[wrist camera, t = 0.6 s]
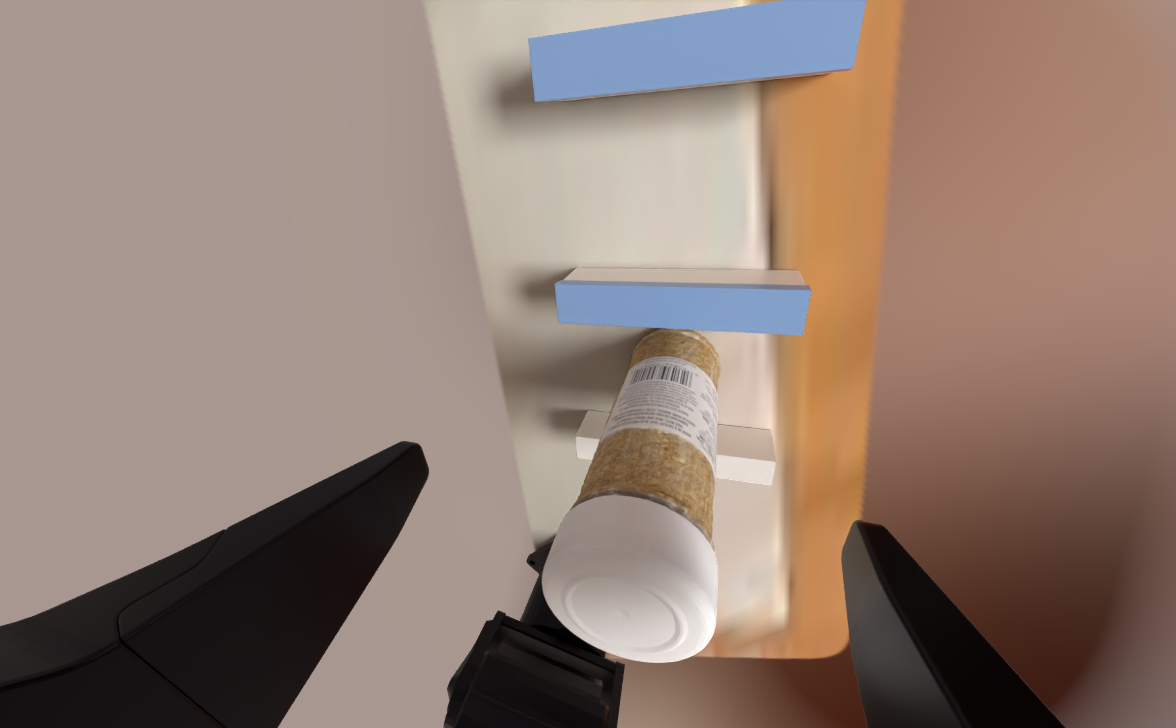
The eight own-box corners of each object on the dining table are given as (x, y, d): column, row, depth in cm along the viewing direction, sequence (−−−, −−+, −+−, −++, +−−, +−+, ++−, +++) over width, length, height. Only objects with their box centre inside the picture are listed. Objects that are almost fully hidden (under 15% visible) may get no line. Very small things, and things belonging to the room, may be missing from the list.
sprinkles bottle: (624, 387, 23) (528, 629, 12) (643, 312, 21) (544, 528, 10) (706, 411, 23) (686, 693, 11) (735, 337, 20) (745, 600, 9)
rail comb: (767, 452, 23) (772, 494, 20) (589, 430, 26) (574, 465, 23) (842, 13, 14) (868, -13, 11) (559, 52, 17) (528, 38, 14)
